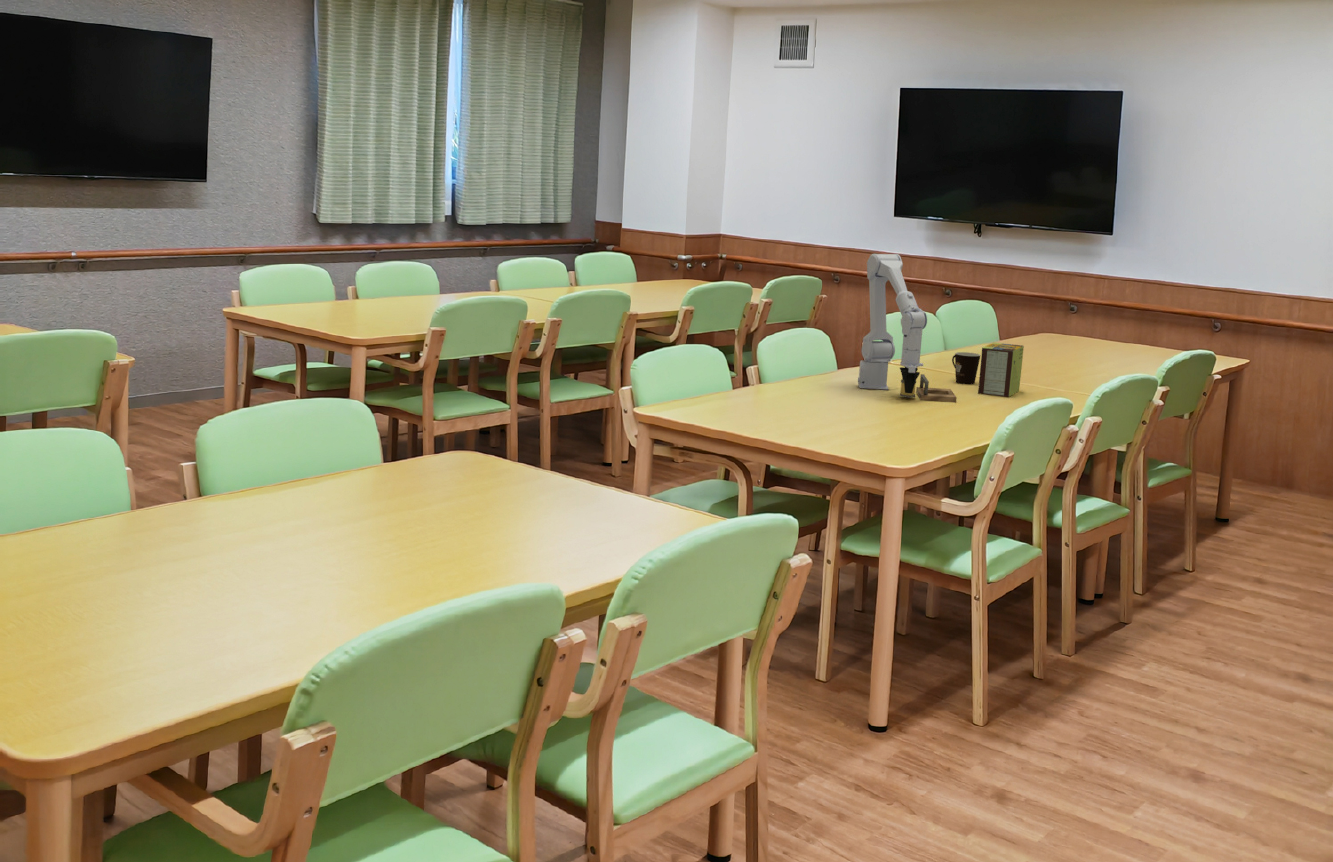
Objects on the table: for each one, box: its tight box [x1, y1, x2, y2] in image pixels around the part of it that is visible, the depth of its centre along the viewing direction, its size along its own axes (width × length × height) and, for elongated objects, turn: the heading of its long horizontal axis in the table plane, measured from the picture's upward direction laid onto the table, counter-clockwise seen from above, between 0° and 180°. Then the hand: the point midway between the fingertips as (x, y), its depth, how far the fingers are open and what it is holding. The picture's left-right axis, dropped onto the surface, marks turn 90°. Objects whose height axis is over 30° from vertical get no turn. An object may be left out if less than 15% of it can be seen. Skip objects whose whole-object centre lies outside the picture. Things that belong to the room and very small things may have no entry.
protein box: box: [977, 342, 1025, 398], centre depth 400 cm, size 10×15×16 cm
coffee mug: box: [951, 351, 982, 385], centre depth 418 cm, size 12×9×10 cm
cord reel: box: [899, 379, 917, 398], centre depth 383 cm, size 5×5×5 cm
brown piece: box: [915, 373, 958, 403], centre depth 387 cm, size 11×15×6 cm
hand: (907, 391), depth 383 cm, fingers closed on cord reel, 5 cm apart
